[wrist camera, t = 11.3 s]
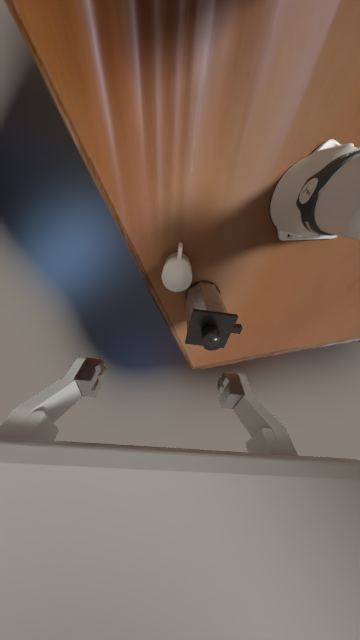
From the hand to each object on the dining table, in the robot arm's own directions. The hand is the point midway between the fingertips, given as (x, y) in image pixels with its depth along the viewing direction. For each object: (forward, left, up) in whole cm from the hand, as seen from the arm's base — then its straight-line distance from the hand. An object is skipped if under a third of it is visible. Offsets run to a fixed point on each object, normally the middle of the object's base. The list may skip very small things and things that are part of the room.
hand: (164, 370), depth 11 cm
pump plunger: (-11, +16, -41) cm, 45 cm away
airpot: (-13, +16, -42) cm, 47 cm away
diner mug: (-1, +5, -42) cm, 43 cm away
